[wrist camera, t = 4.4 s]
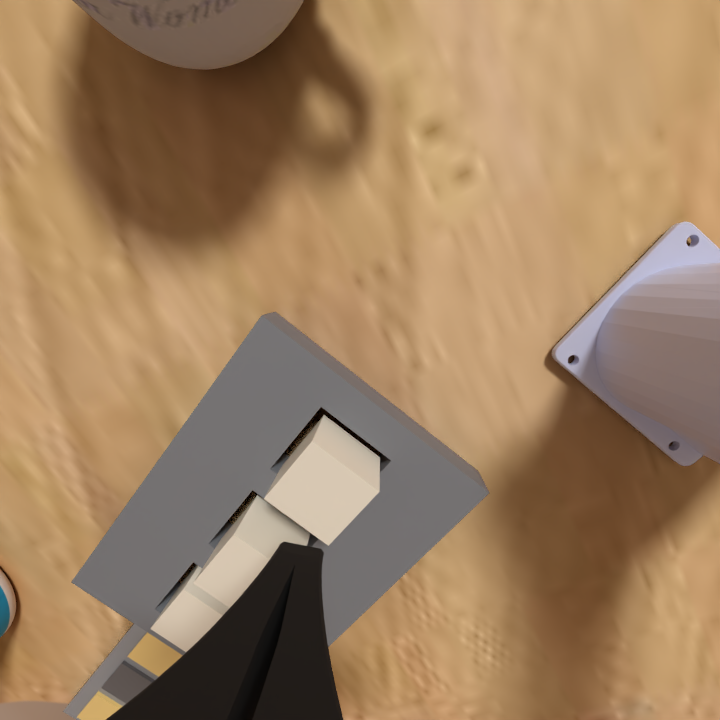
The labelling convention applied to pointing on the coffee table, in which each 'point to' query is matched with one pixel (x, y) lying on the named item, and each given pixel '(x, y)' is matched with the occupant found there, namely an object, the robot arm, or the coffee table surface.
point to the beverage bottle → (6, 604)
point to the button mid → (247, 550)
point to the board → (259, 469)
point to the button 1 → (188, 614)
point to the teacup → (194, 28)
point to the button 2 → (326, 481)
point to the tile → (122, 675)
